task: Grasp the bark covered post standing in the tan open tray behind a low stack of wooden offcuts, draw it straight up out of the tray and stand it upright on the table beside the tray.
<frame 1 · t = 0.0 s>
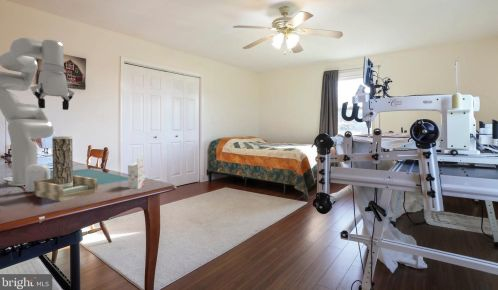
hand: (54, 108, 116), 37 cm above the table, tool pointing down, fingers open, 9 cm apart
sage offcut: (73, 191, 108), point 3 cm above the table, touching grey MDF offcut
bark covered post: (63, 196, 111), resting in tan open tray
birch offcut: (74, 199, 108), on the table, touching grey MDF offcut
tan open tray: (69, 196, 109), on the table
grey MDF offcut: (74, 195, 108), point 1 cm above the table, touching birch offcut, sage offcut
ink cartridge box: (136, 187, 129), on the table
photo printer: (38, 192, 114), on the table
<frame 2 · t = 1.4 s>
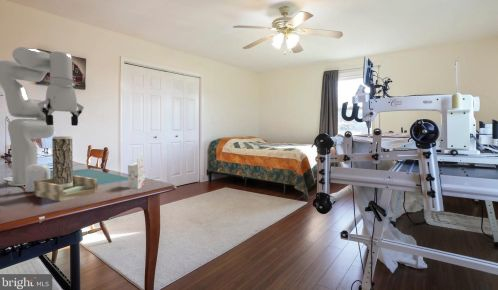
hand: (62, 125, 108), 30 cm above the table, tool pointing down, fingers open, 9 cm apart
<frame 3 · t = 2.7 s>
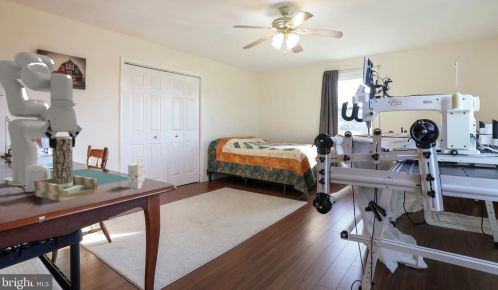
hand: (62, 147, 109), 21 cm above the table, tool pointing down, fingers closed on bark covered post, 6 cm apart
sage offcut: (73, 191, 108), point 3 cm above the table
bark covered post: (63, 196, 111), resting in tan open tray, touching gripper
grey MDF offcut: (75, 195, 108), point 1 cm above the table, touching birch offcut
everything else where it was.
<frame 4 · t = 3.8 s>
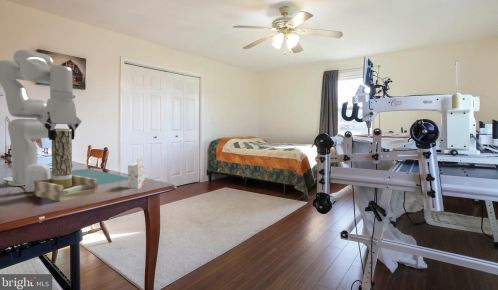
hand: (61, 139, 109), 24 cm above the table, tool pointing down, fingers closed on bark covered post, 6 cm apart
sage offcut: (74, 191, 108), point 3 cm above the table, touching grey MDF offcut
bark covered post: (62, 188, 111), point 3 cm above the table, touching gripper
birch offcut: (76, 199, 108), on the table
grey MDF offcut: (75, 195, 108), point 1 cm above the table, touching sage offcut
everything else where it was.
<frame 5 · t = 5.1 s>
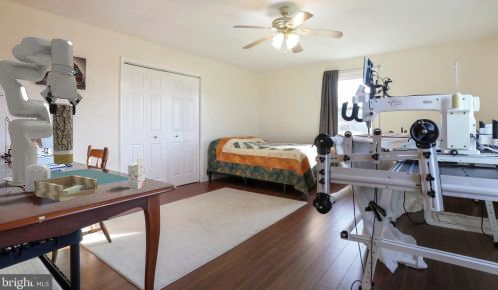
hand: (62, 114, 108), 34 cm above the table, tool pointing down, fingers closed on bark covered post, 6 cm apart
bark covered post: (63, 163, 110), point 14 cm above the table, touching gripper
birch offcut: (76, 199, 108), on the table, touching grey MDF offcut
grey MDF offcut: (75, 195, 108), point 1 cm above the table, touching birch offcut, sage offcut
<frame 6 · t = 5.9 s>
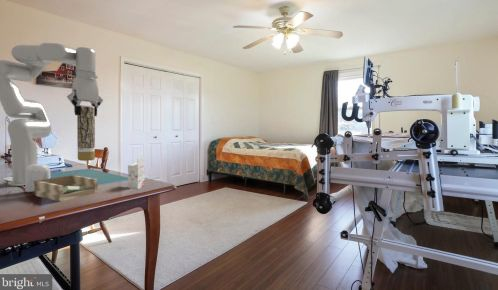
hand: (86, 115, 120), 35 cm above the table, tool pointing down, fingers closed on bark covered post, 6 cm apart
sage offcut: (74, 191, 109), point 3 cm above the table, tilted 38°
bark covered post: (86, 160, 121), point 14 cm above the table, touching gripper
grey MDF offcut: (76, 195, 108), point 1 cm above the table, touching birch offcut
everything else where it was.
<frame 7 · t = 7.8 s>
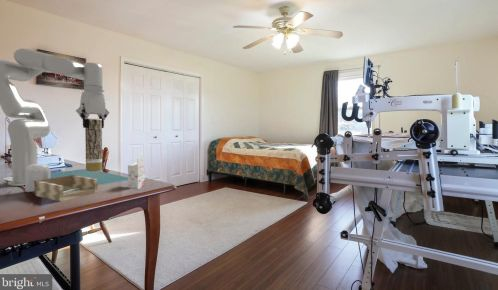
hand: (93, 127, 124), 29 cm above the table, tool pointing down, fingers closed on bark covered post, 6 cm apart
sage offcut: (69, 194, 108), point 1 cm above the table, tilted 90°
bark covered post: (94, 170, 126), point 8 cm above the table, touching gripper
everything else where it was.
when the fingers open (22 cm above the table, at t = 9.9 s): bark covered post drops 1 cm, on the table.
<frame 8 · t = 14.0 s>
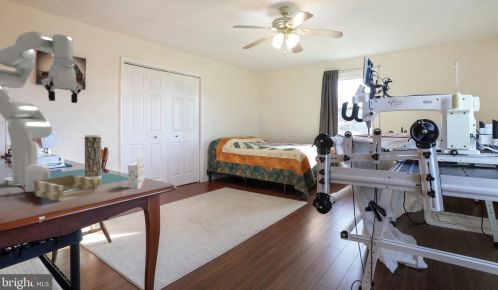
hand: (63, 101, 120), 40 cm above the table, tool pointing down, fingers open, 9 cm apart
bark covered post: (93, 187, 126), on the table
everything else where it was.
at the end: bark covered post inside the target area (0.3 cm from its centre), on the table; bark covered post tilted 0°; sage offcut moved 3.1 cm from its start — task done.
